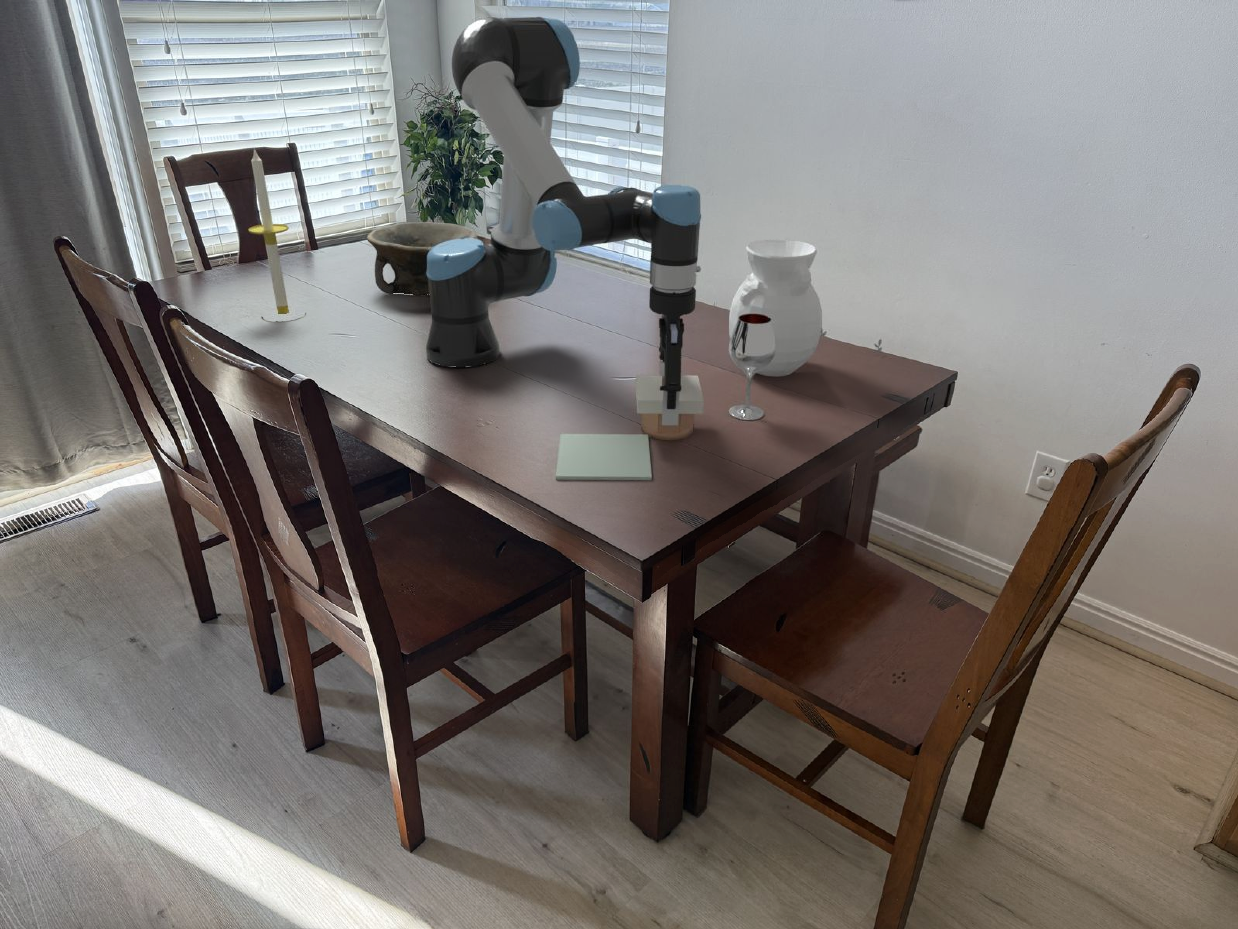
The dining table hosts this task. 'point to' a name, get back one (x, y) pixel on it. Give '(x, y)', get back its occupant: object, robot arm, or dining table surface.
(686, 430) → the pot
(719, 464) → the dining table surface
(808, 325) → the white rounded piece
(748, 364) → the wineglass
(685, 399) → the lid
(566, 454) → the mat
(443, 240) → the bowl
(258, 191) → the candle
